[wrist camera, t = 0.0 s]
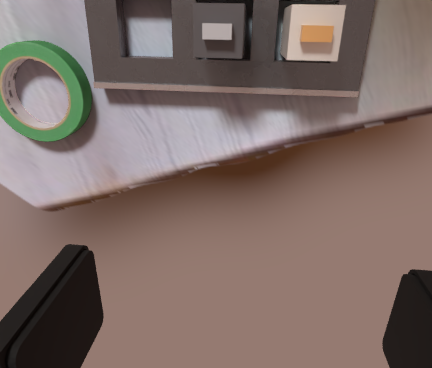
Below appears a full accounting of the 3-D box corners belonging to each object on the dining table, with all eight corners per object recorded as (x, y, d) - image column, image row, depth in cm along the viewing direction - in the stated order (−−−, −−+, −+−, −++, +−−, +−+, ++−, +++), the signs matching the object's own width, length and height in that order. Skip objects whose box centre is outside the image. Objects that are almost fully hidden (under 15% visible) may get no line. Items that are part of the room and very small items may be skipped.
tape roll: (86, 146, 44) (77, 154, 41) (1, 120, 43) (-13, 126, 41) (98, 57, 39) (88, 59, 36) (3, 27, 39) (-14, 27, 36)
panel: (88, -38, 35) (77, -42, 33) (375, -37, 32) (383, -41, 30) (102, 84, 40) (94, 88, 38) (352, 93, 37) (357, 97, 35)
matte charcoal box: (205, 7, 35) (190, 1, 27) (246, 7, 35) (244, 2, 27) (205, 51, 37) (191, 58, 29) (244, 52, 37) (241, 59, 29)
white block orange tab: (284, 8, 35) (293, 3, 27) (326, 9, 34) (349, 4, 26) (280, 53, 37) (287, 61, 28) (320, 54, 36) (340, 62, 28)
